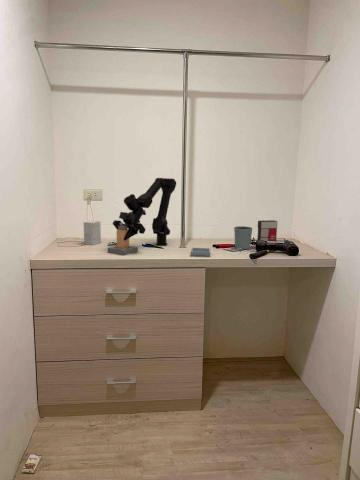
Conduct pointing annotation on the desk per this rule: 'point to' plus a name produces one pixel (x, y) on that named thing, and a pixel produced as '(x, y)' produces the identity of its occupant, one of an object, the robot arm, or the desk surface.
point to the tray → (200, 252)
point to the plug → (122, 237)
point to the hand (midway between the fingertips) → (121, 239)
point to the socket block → (122, 250)
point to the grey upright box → (267, 230)
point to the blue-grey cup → (243, 237)
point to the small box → (92, 232)
